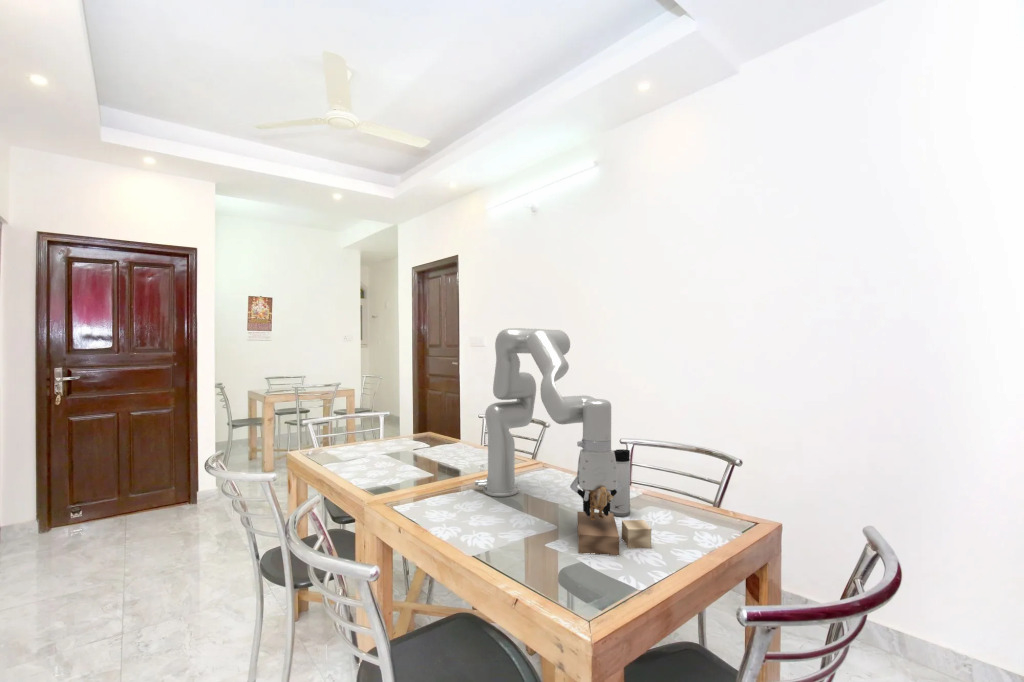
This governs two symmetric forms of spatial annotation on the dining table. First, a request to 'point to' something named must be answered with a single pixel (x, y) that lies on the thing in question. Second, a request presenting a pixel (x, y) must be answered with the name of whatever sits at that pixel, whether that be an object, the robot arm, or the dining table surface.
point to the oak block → (636, 534)
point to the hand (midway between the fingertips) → (596, 513)
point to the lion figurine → (599, 501)
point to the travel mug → (622, 498)
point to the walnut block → (597, 534)
